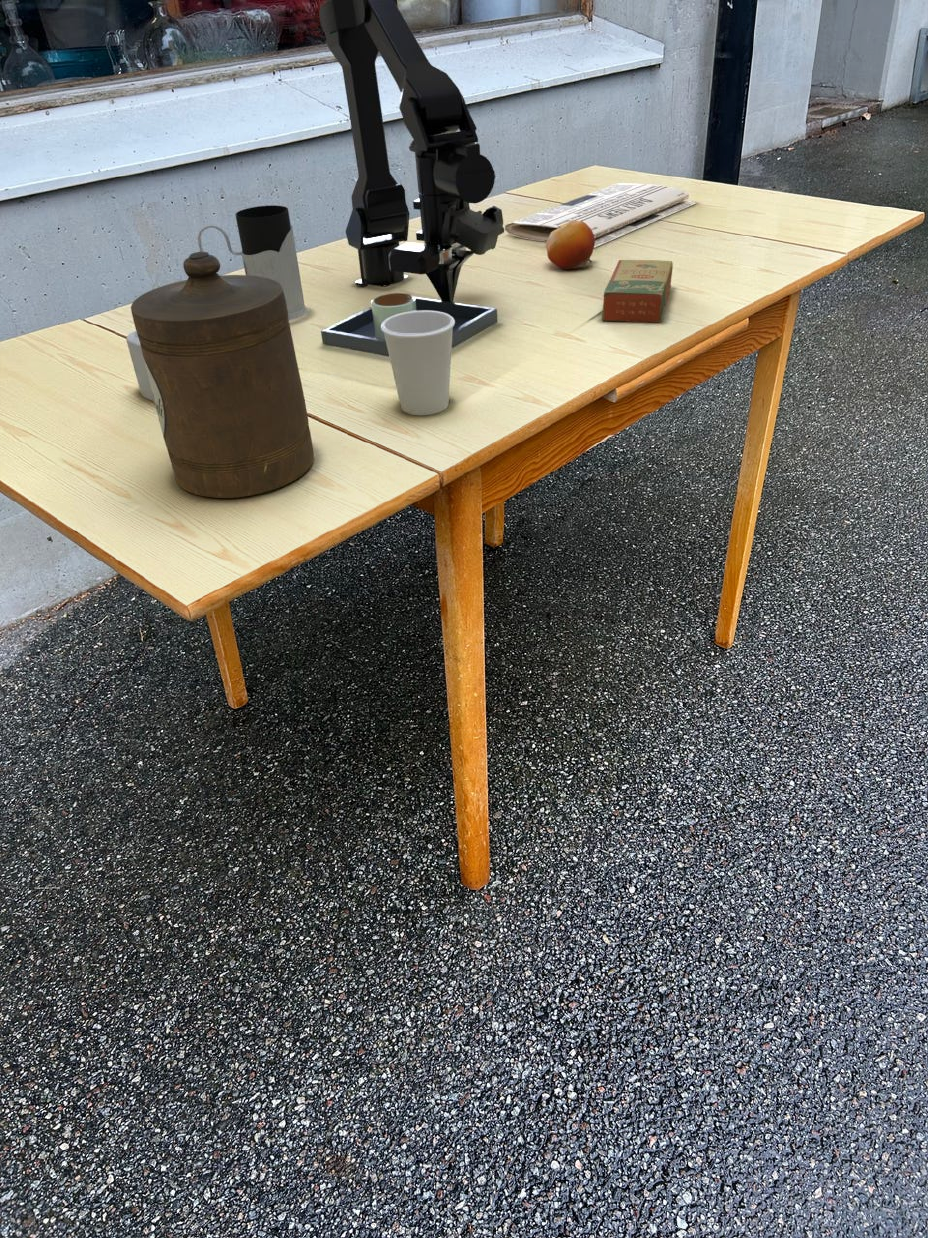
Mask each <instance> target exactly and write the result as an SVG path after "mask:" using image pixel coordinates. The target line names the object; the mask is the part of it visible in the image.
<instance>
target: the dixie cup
mask: <svg viewBox="0 0 928 1238" xmlns="http://www.w3.org/2000/svg"><path fill="white" fill-rule="evenodd" d="M454 324H455V320H454V318H453V317H452V316H450V315H449V314H446V313H443V312H439V311H430V310H420V311H410V312H404V313H400V314H396V315H393V316H391V317H389V318H387V319H386V320H385V321H384V322H383V323H382V324H381V330H382V331H383V332H384V336H385V340H386V344H387V349H388V353H389V356H388V357H389V361H390V366H391V369H392V370H391V371H392V374H393V378H394V379H393V380H394V383H395V387H396V392H397V397H398V401H399V405H400V408H401V410H402V412H404V413H406V414H408V415H412V416H429V415H430V416H431V415H435V414H438V413H441V412H443V411H445V410H446V409H447V408H448V407H449V405H450V404H449V403H450V387H451V385H450V383H451V368H452V367H451V365H452V349H453V348H452V332H453V326H454Z"/></svg>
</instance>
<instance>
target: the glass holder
mask: <svg viewBox="0 0 928 1238" xmlns="http://www.w3.org/2000/svg"><path fill="white" fill-rule="evenodd" d="M289 212H290V211H289V208H288V207H287V206H285V205H274V204H273V205H271V204H269V205H258V206H251V207H247V208H243V209H241V210H239V211H237V212H235V215H234V216H235V221H236V226H237V231H238V236H239V242H240V247H241V251H234V250H233V249H232V245H231V240H230V238H229V236H228V233H227V232H226V230H224V228H222V227H220V226H219V225H217V224H207V225H205V226H203V227H202V228H201V229H200V230H199V233H198V235H197V242H198V248H199V249H198V250H199V252H204V249H203V246H202V233H203V232H204V231H205V230H207V229H210V228H213V229H216V230H218V231H219V232H220V233H221V234H222V235H223V237H224V239H225V241H226V244H227V248H228V251H229V252H230V253H231V254H232V255H234V256H241V258H242V263H243V268H244V275H250V276H259V277H265V278H269V279H272V280H275V281H277V282H278V283H280V284H281V286H282V288H283V291H284V295H285V299H286V304H287V310H288V318H289V322H290V321H292V320H296V319H299V318H301V317H303V316H304V315H306V314H307V313H309V310H308V308H307V307H306V304H305V298H304V291H303V285H302V278H301V273H300V272H301V271H300V267H299V260H298V254H297V248H296V247H297V246H296V242H295V236H294V229H293V225H292V224H291V219H290V217H291V216H290V213H289Z"/></svg>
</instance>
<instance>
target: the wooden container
mask: <svg viewBox="0 0 928 1238" xmlns="http://www.w3.org/2000/svg"><path fill="white" fill-rule="evenodd" d="M182 267H183V270H184V273H185V275H186V276H187V279H185V280H180V281H175V282H172V283H168V284H165V285H161V286H158V287H156V288H153V289H150V290H149V291H146V292H144V293H143V294H141V295H139V296H137V298H135V300H133V302H132V303H131V306H130V311H131V316H132V321H133V324H134V328H135V331H137V334H138V338H139V341H140V345H141V350H142V354H143V358H144V362H145V366H146V370H147V374H148V378H149V382H150V386H151V390H152V394H153V398H154V401H153V402H154V407H155V410H156V414H157V419H158V422H159V425H160V430H161V433H162V437H163V440H164V445H165V447H166V450H167V453H168V457H169V461H170V464H171V468H172V471H173V474H174V478H175V480H176V482H177V484H178V485H179V487H181V489H183V490H185V492H188V493H190V494H194V495H197V496H201V497H206V498H215V499H233V498H243V497H244V498H245V497H249V496H256V495H260V494H263V493H268V492H271V491H274V490H277V489H280V488H282V487H284V486H287V485H288V484H290V483H292V482H294V481H296V480H297V479H299V478H300V477H302V476H303V475H304V474H305V473H306V472H307V471H309V470H310V468H311V467H312V465H313V463H314V460H315V451H314V446H313V439H312V434H311V433H312V432H311V430H310V423H309V415H308V411H307V405H306V399H305V394H304V388H303V384H302V380H301V375H300V369H299V365H298V360H297V356H296V355H297V354H296V350H295V344H294V340H293V334H292V329H291V324H290V321H289V318H288V310H287V304H286V299H285V295H284V291H283V288H282V286H281V284H280V283H278V282H277V281H275V280H272V279H269V278H265V277H259V276H250V275H246V274H228V275H227V274H224V275H220V274H219V273H218V272H219V271H220V269H221V263H220V260H219V259H218V258H217V256H215V255H213V254H210V253H209V252H207V251H203V252H200V251H196V252H193V253H192V252H191V254H190V255H188V257H187V258H185V259H184V261H183V265H182Z"/></svg>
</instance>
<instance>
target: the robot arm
mask: <svg viewBox="0 0 928 1238" xmlns="http://www.w3.org/2000/svg"><path fill="white" fill-rule="evenodd" d="M398 4H399V3H398V0H324V2H323V3H321V4H320V6H319V10H318V12H319V13H318V14H319V15H318V16H319V23H320V27H321V30H322V31H323V32H324V35H325V40H326V41H325V42H326V45H327V48H328V50H329V51H330V53H331V54H332V55H333V57H334V58H335V59H336V61H337V62H338V64H339V65H340V66H341V70H342V76H343V82H344V87H345V88H344V89H345V95H346V96H345V97H346V102H347V107H348V115H349V120H350V127H351V134H352V141H353V146H354V147H353V148H354V154H355V160H356V167H357V168H356V169H357V175H358V176H357V180H356V183H355V185H354V188H353V190H352V193H351V207H352V208H351V209H352V210H351V213H350V216H349V219H348V223H347V225H346V228H345V235H346V240H347V244H348V246H350V247H352V248H354V249H356V250H357V255H358V256H357V257H358V261H359V262H358V263H359V271H360V279H358V280H355V282H354V283H355V285H356V286H361V287H368V286H376V287H383V288H386V287H389V286H391V285H393V284H397V283H398V282H401V281H403V280H404V279H406V278H409V275H408V274H414V275H426V277H427V279H428V280H429V281H430V283H431V285H432V286H433V288H434V290H435V291H436V293H437V295H438V297H439V299H440V300H441V301H448V302H454V299H455V294H456V290H457V286H458V282H459V277H460V274H461V271H462V267H463V265H464V264H465V263H466V262H467V261H468V260H469V259H470V258H471V257H472V256H473V255H474V254H475V255H477V256H482V255H485V254H486V253H487V252H489V251H490V250H494V249H495V248H496V246H497V243H498V238H499V236H501V235H502V234H504V233H505V227H504V217H503V210H502V209H501V208H500V207H497V206H496V205H492V206H489V207H488V208H486V209H485V210H484V212H483V211H482V210H478V211H475V210H473V209H471V207H470V204H479V203H481V202H483V201H485V200H486V199H487V198H488V197H489V195H490V194H491V193H492V191H493V189H494V185H495V180H496V174H495V173H496V172H495V170H494V167H493V164H492V163H491V161H490V160H489V159H488V158H487V156H485V155H483V154H481V145H480V143H478V142H479V137H478V134H477V129H478V128H477V126H476V124H475V122H474V119H473V118H472V115H471V113H470V111H469V109H468V106H467V103H466V99H465V98H464V95H463V94H462V92H461V90H460V88H459V87H458V86H457V85H456V83H455V82H454V81H453V79H452V78H451V77H450V76H449V74H448V73H447V72H445V71H443V70H441V69H440V68H437V67H435V66H434V65H432V63H431V62H430V61H429V59H428V58H427V56H426V54H425V53H424V51H423V49H422V46H421V45H420V44H419V42H418V40H417V38H416V36H415V35H414V33H413V31H412V29H411V28H410V26H409V24H408V23H407V21H406V19H405V16H403V13H402V12H401V10H400V8H399V6H398ZM378 55H380V56H381V58H382V60H383V62H384V64H385V65H386V67H387V69H388V71H389V72H390V74H391V76H392V78H393V79H394V81H395V83H396V85H397V87H398V90H399V92H400V99H399V105H398V109H399V111H400V113H401V116H402V121H403V123H404V126H405V128H406V129H407V131H408V132H409V135H410V136H411V138H412V139H413V140H411V142H410V143H409V146H408V149H409V151H410V152H411V153H414V159H415V166H416V167H415V169H416V170H415V171H416V180H417V181H416V182H417V189H418V198H417V199H415V200H413V201H412V206H413V210H419V213H420V225H421V230H419V231H416V232H415V237H416V241H419V242H424V243H419V242H409V241H408V239H409V238H408V237H409V227H410V225H409V224H410V211H409V207H408V204H407V199H406V189H405V187H404V185H403V184H402V183H398V182H397V180H396V179H395V178H394V176H393V175H392V173H391V170H390V163H389V162H390V161H389V156H388V149H387V140H386V132H385V128H384V127H385V126H384V119H383V112H382V104H381V98H380V97H381V95H380V91H379V90H380V89H379V83H378V75H377V67H376V62H377V58H378V57H379V56H378ZM458 130H459V131H458ZM401 242H405V243H403V244H400V243H401ZM467 249H468V250H467ZM405 273H407V274H405Z"/></svg>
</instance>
